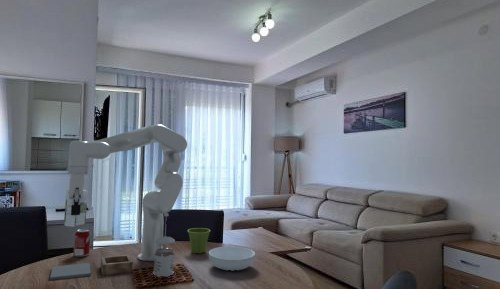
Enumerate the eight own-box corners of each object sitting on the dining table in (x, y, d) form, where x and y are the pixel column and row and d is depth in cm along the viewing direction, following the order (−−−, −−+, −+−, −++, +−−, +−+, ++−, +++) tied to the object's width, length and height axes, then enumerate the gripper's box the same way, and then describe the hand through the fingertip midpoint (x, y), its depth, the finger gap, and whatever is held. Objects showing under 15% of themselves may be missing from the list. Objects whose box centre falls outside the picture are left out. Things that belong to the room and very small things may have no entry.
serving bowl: (198, 266, 149) (199, 251, 150) (232, 258, 165) (232, 244, 165) (230, 279, 135) (231, 262, 136) (264, 268, 151) (264, 253, 151)
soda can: (82, 258, 155) (84, 232, 156) (70, 256, 156) (71, 231, 157) (92, 254, 162) (93, 229, 162) (80, 253, 163) (81, 228, 164)
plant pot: (190, 248, 180) (191, 227, 180) (211, 250, 178) (212, 228, 179) (183, 254, 168) (184, 231, 169) (206, 256, 166) (207, 233, 167)
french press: (153, 279, 132) (157, 215, 133) (148, 270, 142) (151, 211, 143) (178, 276, 136) (181, 214, 137) (171, 267, 146) (173, 210, 148)
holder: (128, 263, 149) (129, 254, 150) (132, 271, 139) (132, 261, 140) (100, 266, 144) (101, 257, 144) (102, 274, 134) (103, 264, 134)
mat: (89, 265, 145) (89, 263, 145) (90, 275, 133) (90, 273, 133) (52, 268, 139) (52, 266, 139) (49, 280, 126) (49, 277, 126)
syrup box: (75, 224, 140) (76, 189, 141) (86, 225, 139) (87, 189, 140) (63, 226, 135) (65, 190, 136) (74, 227, 133) (76, 190, 134)
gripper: (68, 169, 144) (65, 210, 143) (67, 171, 129) (64, 217, 128) (87, 170, 148) (85, 210, 147) (88, 171, 132) (86, 216, 131)
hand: (75, 213), depth 137 cm, fingers closed on syrup box, 7 cm apart
